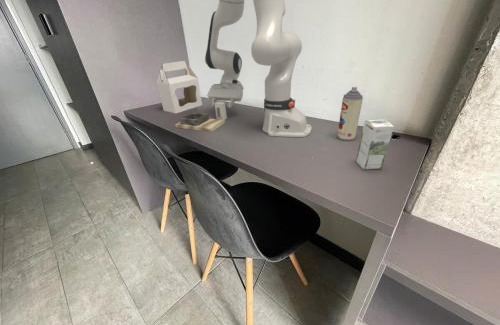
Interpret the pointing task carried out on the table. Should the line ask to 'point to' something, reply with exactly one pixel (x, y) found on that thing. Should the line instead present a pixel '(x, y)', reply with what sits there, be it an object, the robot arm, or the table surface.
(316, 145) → the table surface
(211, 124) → the dock board
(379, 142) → the syrup box
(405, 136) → the table surface
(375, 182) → the table surface
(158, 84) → the gable box
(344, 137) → the aerosol can
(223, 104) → the plug block
